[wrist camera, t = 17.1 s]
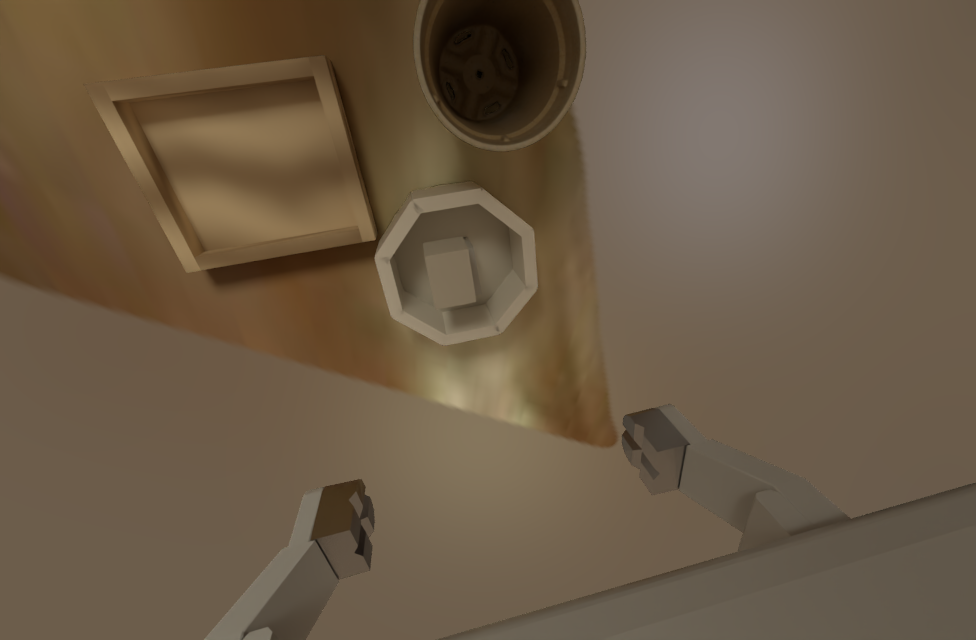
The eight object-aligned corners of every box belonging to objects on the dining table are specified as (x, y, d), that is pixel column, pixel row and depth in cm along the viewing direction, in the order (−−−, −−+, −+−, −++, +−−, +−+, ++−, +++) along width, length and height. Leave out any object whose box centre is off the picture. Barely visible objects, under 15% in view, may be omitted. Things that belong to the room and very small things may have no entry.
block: (422, 242, 28) (424, 256, 25) (462, 236, 28) (468, 248, 25) (432, 291, 30) (435, 309, 26) (469, 284, 30) (476, 302, 27)
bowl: (367, 196, 29) (359, 208, 25) (512, 173, 31) (530, 180, 26) (402, 326, 35) (401, 354, 31) (524, 301, 36) (540, 326, 32)
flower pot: (485, 172, 30) (510, 186, 23) (386, 84, 26) (377, 65, 19) (563, 69, 28) (619, 46, 21) (467, -44, 24) (493, -124, 17)
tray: (109, 87, 24) (83, 84, 22) (330, 60, 25) (324, 55, 23) (201, 263, 29) (186, 272, 28) (377, 233, 31) (375, 239, 29)
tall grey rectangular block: (433, 243, 31) (435, 255, 28) (467, 236, 32) (473, 247, 29) (443, 286, 33) (446, 302, 30) (475, 279, 34) (481, 294, 30)
